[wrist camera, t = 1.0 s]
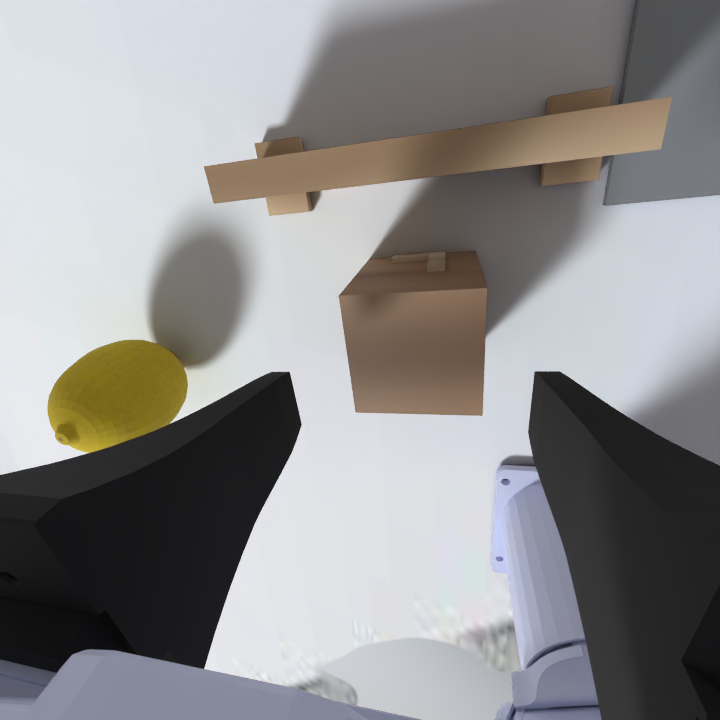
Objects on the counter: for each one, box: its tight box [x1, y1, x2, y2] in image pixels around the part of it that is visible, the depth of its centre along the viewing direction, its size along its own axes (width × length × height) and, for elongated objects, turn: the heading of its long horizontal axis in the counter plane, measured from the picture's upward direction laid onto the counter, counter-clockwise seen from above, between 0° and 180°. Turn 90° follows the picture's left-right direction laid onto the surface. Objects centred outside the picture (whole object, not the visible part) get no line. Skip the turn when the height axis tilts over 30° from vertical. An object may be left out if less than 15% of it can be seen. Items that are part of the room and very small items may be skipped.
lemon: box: [48, 340, 188, 453], centre depth 20 cm, size 6×6×8 cm
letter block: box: [339, 251, 487, 416], centre depth 16 cm, size 5×5×6 cm
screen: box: [204, 86, 672, 216], centre depth 14 cm, size 3×14×5 cm, turn 98°
